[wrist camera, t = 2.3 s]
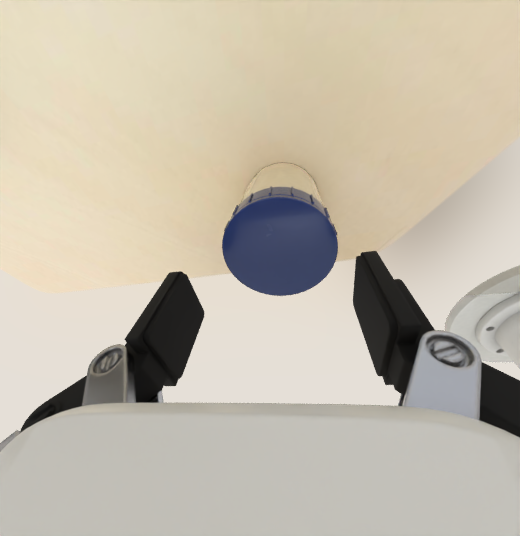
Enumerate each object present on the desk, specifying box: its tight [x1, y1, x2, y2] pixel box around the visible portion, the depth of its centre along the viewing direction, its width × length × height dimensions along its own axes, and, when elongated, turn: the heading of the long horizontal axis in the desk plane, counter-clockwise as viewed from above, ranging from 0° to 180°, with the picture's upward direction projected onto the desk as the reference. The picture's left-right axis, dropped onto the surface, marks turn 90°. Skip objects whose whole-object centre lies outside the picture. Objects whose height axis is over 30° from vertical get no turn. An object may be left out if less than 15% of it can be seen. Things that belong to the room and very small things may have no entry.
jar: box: [241, 163, 323, 206], centre depth 17 cm, size 7×7×9 cm
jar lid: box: [222, 186, 338, 296], centre depth 14 cm, size 7×7×2 cm
